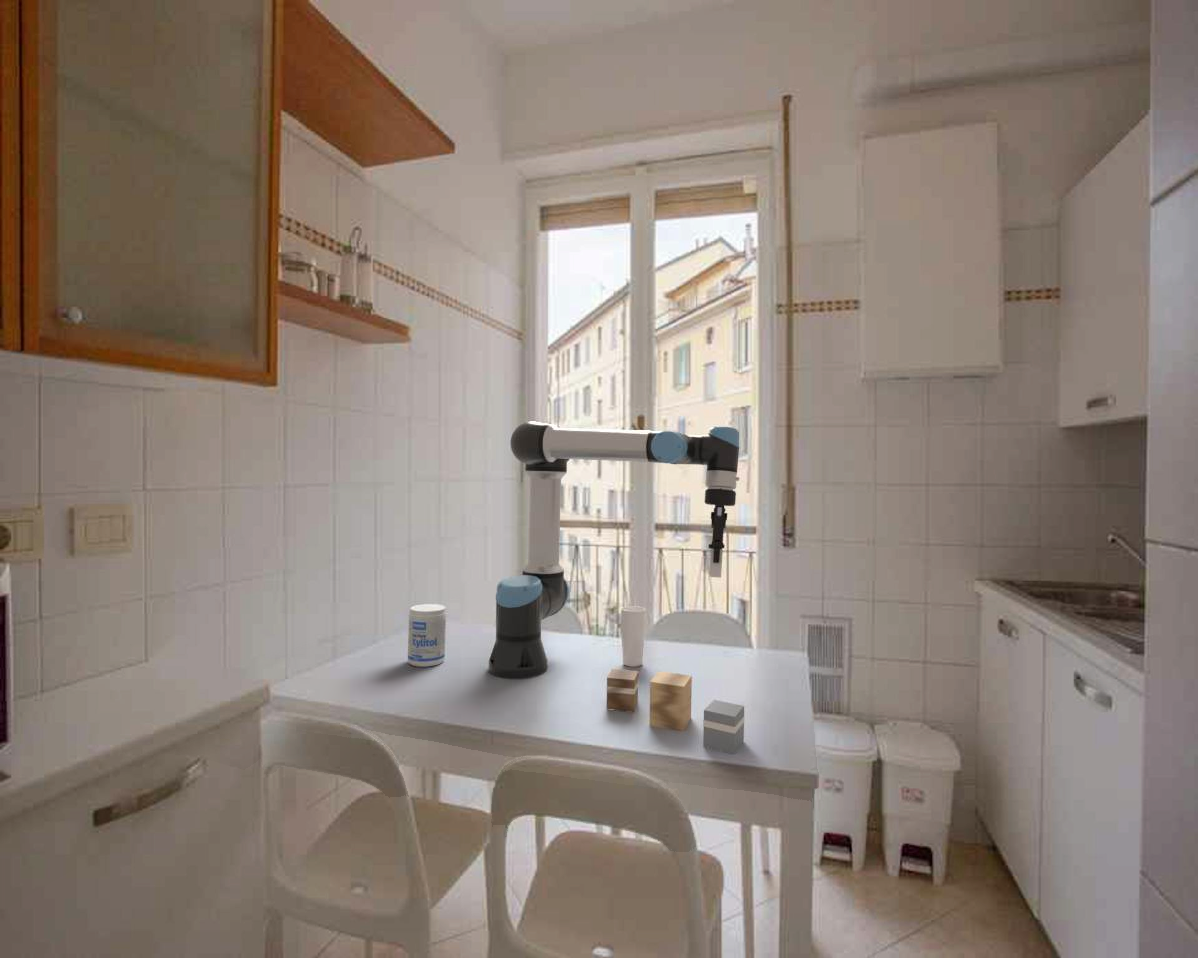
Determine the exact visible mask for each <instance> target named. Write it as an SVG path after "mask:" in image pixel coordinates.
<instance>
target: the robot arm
mask: <svg viewBox="0 0 1198 958" xmlns="http://www.w3.org/2000/svg"><path fill="white" fill-rule="evenodd" d="M509 441H510V449H511V452H512V454H513V456H514V457H515V458H516V459H517V460H518V461H519V462H521V463H522V464H525V467H524V468H525V470H524V471H525V473H526V475H528V477H529V478H530V481H529V482H530V484H529V485H530V486H529V521H528V525H529V527H528V554H527V556H528V557H527V559H528V560H527V563H526V565H525V566H524V567H522V574H521V575H515V576H509V577H506V578H504V579H502V580H500V581H499V582H498V584H497V587H496V593H495V604H496V605H495V642H494V645H493V648H492V651H491V654H490V657H489V660H488V672H489V673H490V674H491V675H493V676H497V677H500V678H503V679H504V678H505V679H526V678H532V677H536V676H539V675H542V674H544V673H545V672H547V670H548V658H547V655H546V652H545V648H544V644H543V642H542V620H544V619H546V618H548V617H551V616H554V615H556V614H558V612H561V610H562V609H564V607H565V605H566V604H567V602H568V601H569V600H568V599H569V597H570V588H569V584H568V582H567V579H565V575H564V574H565V569H564V568H563V567H562V565H561V564H560V535H561V534H560V532H561V531H560V530H561V529H560V528H561V527H560V526H561V524H560V523H561V499H562V498H561V496H562V495H561V494H562V478H563V477H564V476H566V474H567V471H568V463H569V461H570V460H585V461H586V460H587V461H588V460H591V461H616V462H634V463H635V462H641V463H653V464H654V463H658V464H659V463H660V464H669V465H670V464H671V465H696V466H697V465H701V466H706V474H705V487H706V489H705V491H704V492H705V493H704V503H705V504H706V505H709V506H710V505H711V506H714V508H713V511H711V512H710V520H711V523H710V525H711V528H712V538H711V544H710V543H709V544H708V549H710V560H709V561H710V563H709V573H708V576H709V577H710V578H719V579H721V578H722V568H723V567H722V566H723V565H722V564H723V552H724V549H725V544H724V529H725V528H726V527H727V520H728V512H726V507H734V506H735V505H736V501H737V500H736V498H737V497H736V496H737V492H736V491H735V490H736V488H737V482H738V481H740V477H739V476H738V467H739V466H738V465H739V456H740V455H739V454H740V432H739V430H738V429H737V428H735V427H731V426H713V427H710V429H709V432H708V434H704V435H696V434H695V435H694V434H685V433H680V432H679V431H676V430H673V429H667V430H663V431H662V430H653V431H652V430H630V429H629V430H628V429H627V430H626V429H623V430H622V429H621V430H620V429H590V428H589V429H587V428H586V429H585V428H583V429H581V428H580V429H579V428H562V427H561V426H558V425H556V424H550V423H546V422H545V423H543V422H538V421H526V422H523V423H521V424H519V425H518V426H517V427H516V428H515V429H514V431H513V432H512V434H511V438H510V440H509Z"/></svg>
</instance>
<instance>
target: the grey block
mask: <svg viewBox="0 0 1198 958" xmlns="http://www.w3.org/2000/svg"><path fill="white" fill-rule="evenodd" d="M702 727H703V730H702V731H703V736H702V737H703V738H702V739H703V740H702V744H703V746H702V747H704V748H707V747H709V748H708V749H711V748H712V749H711V750H715V749H717V750H716V751H719V750H721V751H720V752H723V753H727V754H730V755H735V754H736V753H737V752H738V750H739V749H740V747H741V746H742V745H743V743H744V739H745V733H744V732H745V705H741V704H737V703H733V702H726V701H722V700H717V699H713V700H712V701H711V702H710V703H709V704H708V705H707V706H706V707H705V708H704V710H703V722H702Z"/></svg>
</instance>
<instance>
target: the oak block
mask: <svg viewBox="0 0 1198 958" xmlns="http://www.w3.org/2000/svg"><path fill="white" fill-rule="evenodd" d="M692 679H693V677H692V675H688V674H681V673H674V672H667V671H658V672H657V674H656V675H655V676H653V677H652V679H651V680H650V681H649V726H650V725H652V726H651V727H656V728H661V727H662V729H667V730H673V731H679V732H684V730H685V729H686V727H687V725H688V724H689V722H690V721H691V718H692V690H693V689H692V688H693V687H692V685H693V683H692V681H693V680H692Z"/></svg>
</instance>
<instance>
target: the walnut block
mask: <svg viewBox="0 0 1198 958" xmlns="http://www.w3.org/2000/svg"><path fill="white" fill-rule="evenodd" d="M638 699H639V670H628V669H619V668H618V669H616V668H612V669H611V670H610V672H609V674H608V675H607V677H606V710H607V709H614V710H613V711H615V710H618V711H617V712H626V711H632V712H631V713H635V711H634V710H636V708H635V707H637V705H638V703H639V700H638ZM637 702H638V703H637Z"/></svg>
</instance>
